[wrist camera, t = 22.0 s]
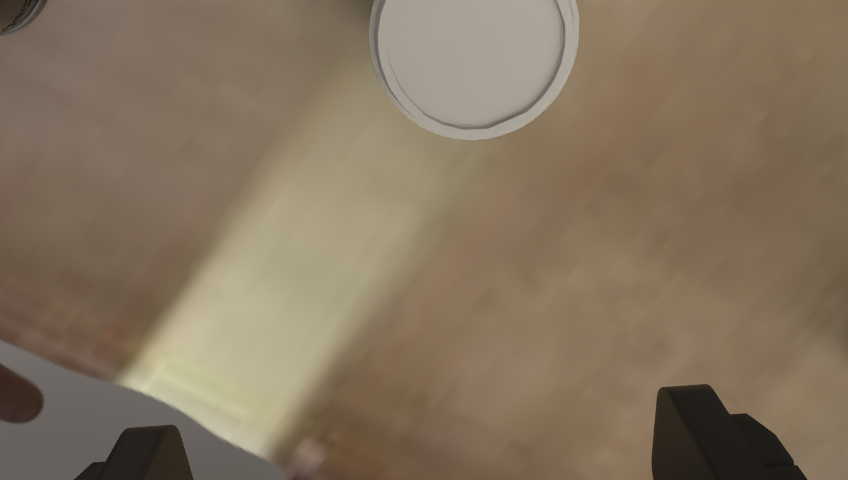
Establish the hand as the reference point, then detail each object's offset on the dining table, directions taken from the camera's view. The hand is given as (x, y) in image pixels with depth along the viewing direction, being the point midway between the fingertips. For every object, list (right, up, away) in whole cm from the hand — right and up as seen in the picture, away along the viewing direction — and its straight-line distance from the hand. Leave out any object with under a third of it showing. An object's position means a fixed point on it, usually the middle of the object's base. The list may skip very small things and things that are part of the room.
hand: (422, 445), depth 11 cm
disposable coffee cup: (+2, +17, +29) cm, 34 cm away
